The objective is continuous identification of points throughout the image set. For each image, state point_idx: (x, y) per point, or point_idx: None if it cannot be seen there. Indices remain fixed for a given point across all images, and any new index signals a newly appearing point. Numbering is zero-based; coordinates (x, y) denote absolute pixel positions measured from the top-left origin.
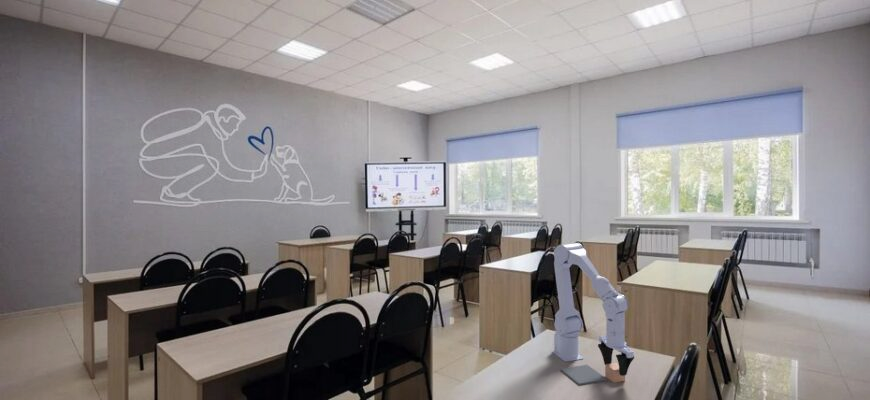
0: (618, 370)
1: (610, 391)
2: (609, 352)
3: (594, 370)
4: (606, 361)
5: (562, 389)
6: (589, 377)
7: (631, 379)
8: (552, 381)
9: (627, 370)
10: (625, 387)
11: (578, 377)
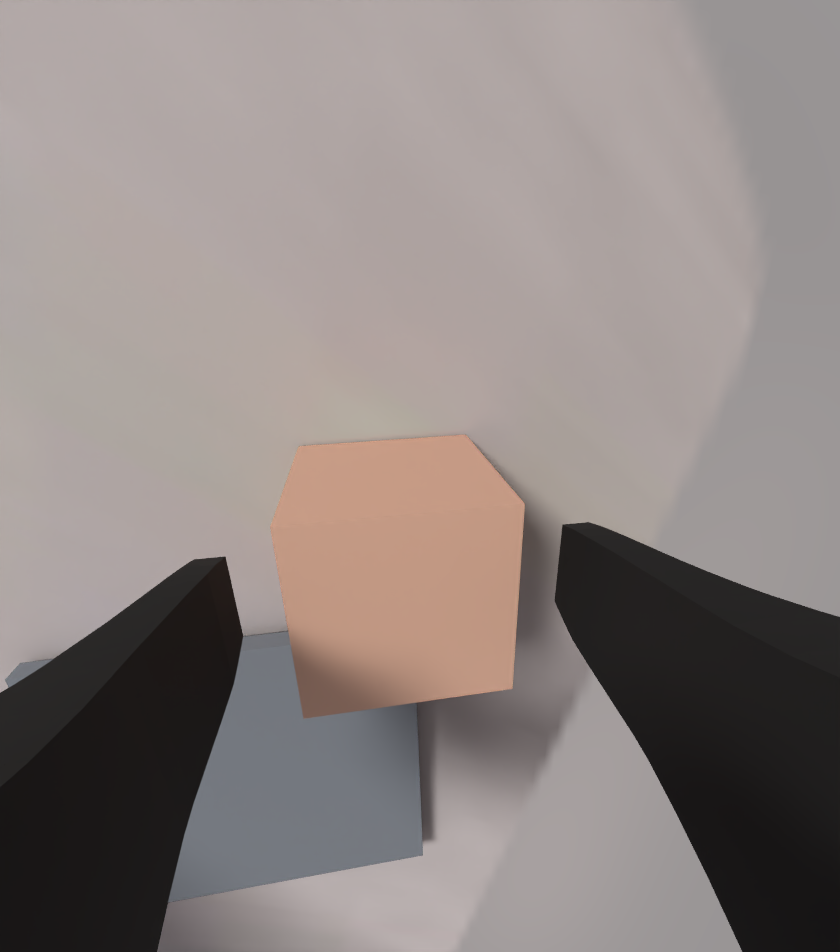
0: (511, 613)
1: (575, 669)
2: (103, 811)
3: None
4: (220, 684)
5: (433, 918)
6: (342, 761)
7: (447, 315)
8: (312, 946)
9: (645, 550)
10: (573, 512)
11: (324, 836)
